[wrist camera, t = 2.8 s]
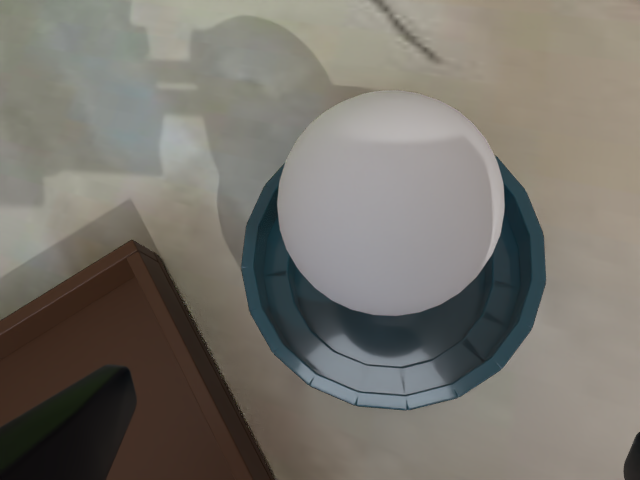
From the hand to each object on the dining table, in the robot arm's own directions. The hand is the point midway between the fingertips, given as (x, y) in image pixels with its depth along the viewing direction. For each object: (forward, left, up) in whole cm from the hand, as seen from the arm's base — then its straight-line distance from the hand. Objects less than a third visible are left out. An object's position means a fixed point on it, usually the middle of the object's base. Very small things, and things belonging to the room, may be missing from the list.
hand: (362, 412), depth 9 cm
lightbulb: (+4, -3, -12) cm, 13 cm away
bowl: (+4, -3, -12) cm, 13 cm away
